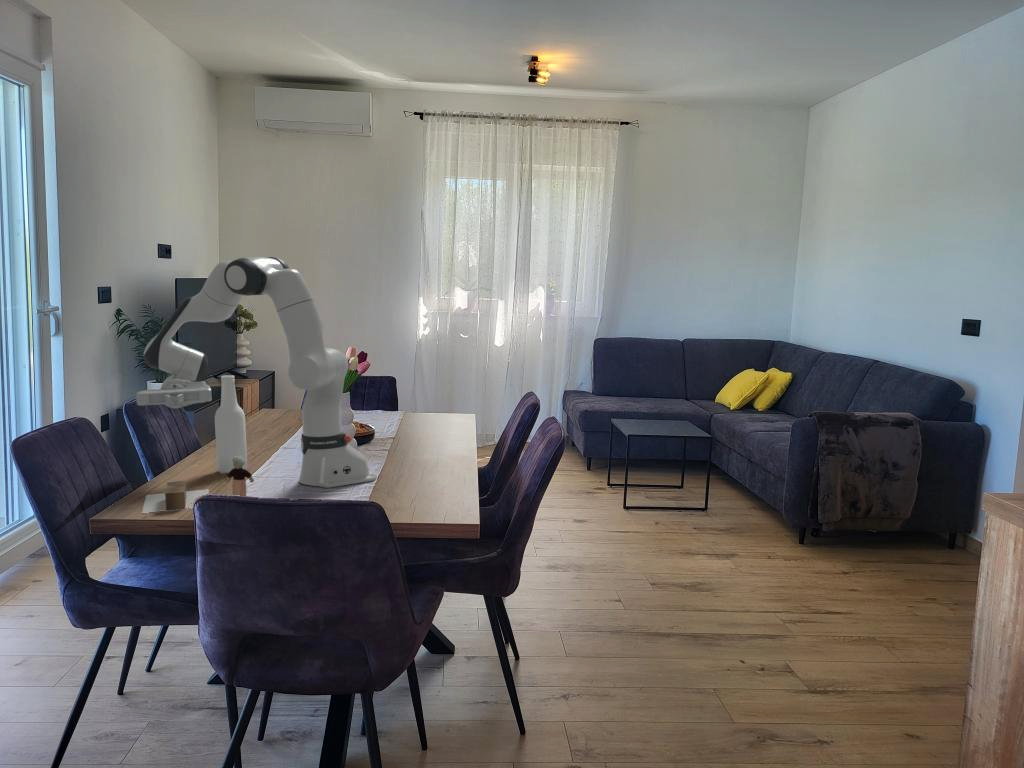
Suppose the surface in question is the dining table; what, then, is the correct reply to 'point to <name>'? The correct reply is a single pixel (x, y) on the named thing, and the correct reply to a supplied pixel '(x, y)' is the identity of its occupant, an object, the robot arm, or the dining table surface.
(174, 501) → the walnut block
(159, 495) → the felt mat
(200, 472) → the dining table surface
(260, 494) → the dining table surface
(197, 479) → the dining table surface
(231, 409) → the alcohol
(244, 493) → the grandmother figurine
